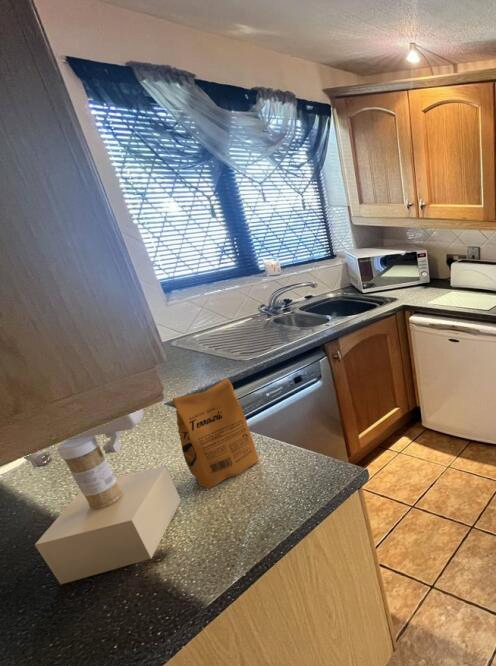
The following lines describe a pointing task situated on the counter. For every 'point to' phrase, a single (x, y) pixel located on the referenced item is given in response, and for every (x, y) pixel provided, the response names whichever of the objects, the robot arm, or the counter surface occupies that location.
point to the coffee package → (214, 434)
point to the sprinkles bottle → (91, 471)
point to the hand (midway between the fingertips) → (79, 457)
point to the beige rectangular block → (111, 528)
